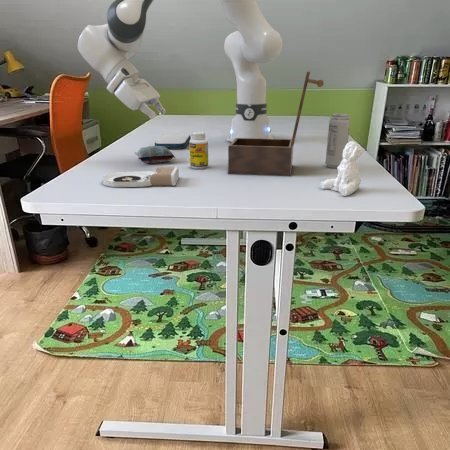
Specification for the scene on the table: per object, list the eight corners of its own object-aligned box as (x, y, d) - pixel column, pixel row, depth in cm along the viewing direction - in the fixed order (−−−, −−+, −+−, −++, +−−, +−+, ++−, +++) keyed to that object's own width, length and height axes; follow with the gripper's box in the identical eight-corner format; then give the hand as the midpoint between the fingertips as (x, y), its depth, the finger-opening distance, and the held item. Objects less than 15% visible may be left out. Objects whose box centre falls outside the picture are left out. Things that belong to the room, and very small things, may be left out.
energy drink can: (347, 168, 138) (353, 115, 131) (328, 168, 137) (333, 116, 131) (341, 163, 143) (347, 113, 136) (322, 164, 143) (327, 113, 136)
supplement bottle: (187, 168, 138) (185, 133, 133) (194, 164, 143) (193, 130, 138) (204, 170, 136) (203, 134, 132) (211, 166, 141) (210, 131, 136)
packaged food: (135, 160, 149) (133, 144, 147) (170, 158, 152) (170, 142, 150) (139, 166, 142) (137, 149, 139) (176, 163, 145) (175, 147, 143)
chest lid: (306, 71, 117) (326, 75, 116) (307, 70, 129) (324, 73, 128) (290, 145, 125) (308, 149, 125) (292, 137, 138) (308, 140, 137)
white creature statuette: (318, 188, 117) (322, 140, 112) (343, 183, 121) (348, 137, 116) (344, 197, 110) (350, 145, 104) (370, 192, 114) (377, 142, 108)
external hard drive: (163, 138, 187) (163, 133, 186) (191, 138, 186) (191, 133, 185) (153, 149, 165) (152, 143, 165) (184, 149, 165) (184, 143, 164)
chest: (228, 173, 132) (228, 145, 128) (235, 163, 144) (235, 137, 140) (290, 176, 129) (291, 147, 126) (292, 165, 141) (293, 139, 138)
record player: (173, 175, 117) (96, 176, 117) (174, 187, 118) (97, 188, 119) (178, 165, 127) (107, 166, 128) (179, 176, 129) (109, 177, 129)
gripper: (130, 85, 142) (162, 118, 145) (104, 89, 124) (141, 127, 127) (143, 69, 139) (175, 103, 142) (117, 71, 121) (155, 111, 124)
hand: (159, 115), depth 135 cm, fingers open, 8 cm apart
